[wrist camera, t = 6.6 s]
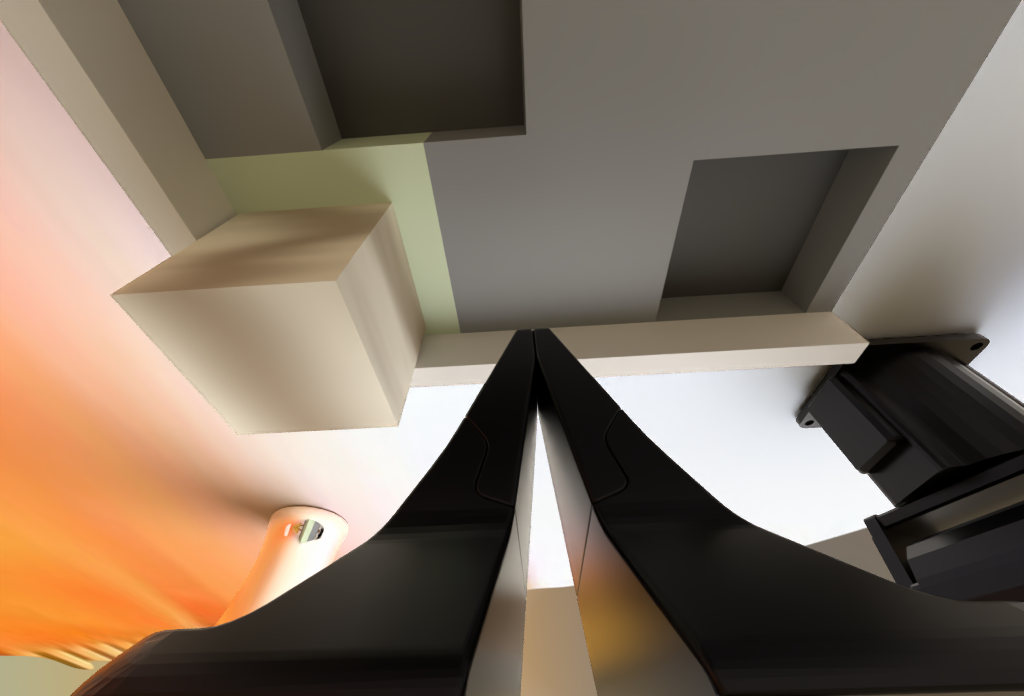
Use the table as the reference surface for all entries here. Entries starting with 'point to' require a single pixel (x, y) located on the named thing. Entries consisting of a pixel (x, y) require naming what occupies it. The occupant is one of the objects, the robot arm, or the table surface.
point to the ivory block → (289, 318)
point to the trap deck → (540, 151)
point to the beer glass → (288, 556)
